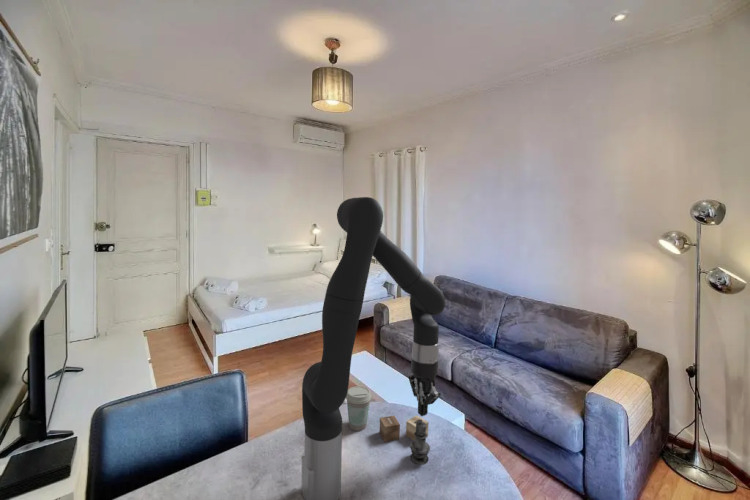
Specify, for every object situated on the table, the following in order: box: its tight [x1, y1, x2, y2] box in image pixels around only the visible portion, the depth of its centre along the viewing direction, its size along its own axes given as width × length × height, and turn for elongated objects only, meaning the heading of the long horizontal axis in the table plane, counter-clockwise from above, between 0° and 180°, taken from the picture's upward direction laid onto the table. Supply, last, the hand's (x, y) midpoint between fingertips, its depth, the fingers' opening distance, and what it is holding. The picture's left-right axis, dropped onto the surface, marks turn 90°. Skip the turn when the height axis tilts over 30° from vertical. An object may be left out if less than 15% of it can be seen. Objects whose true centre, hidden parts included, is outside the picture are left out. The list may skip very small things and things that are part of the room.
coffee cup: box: [345, 385, 372, 432], centre depth 114 cm, size 8×8×12 cm
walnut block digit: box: [379, 415, 401, 443], centre depth 110 cm, size 5×5×5 cm
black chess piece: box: [409, 418, 431, 466], centre depth 100 cm, size 6×6×12 cm
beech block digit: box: [405, 414, 430, 441], centre depth 110 cm, size 5×5×5 cm
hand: (422, 414), depth 99 cm, fingers closed
